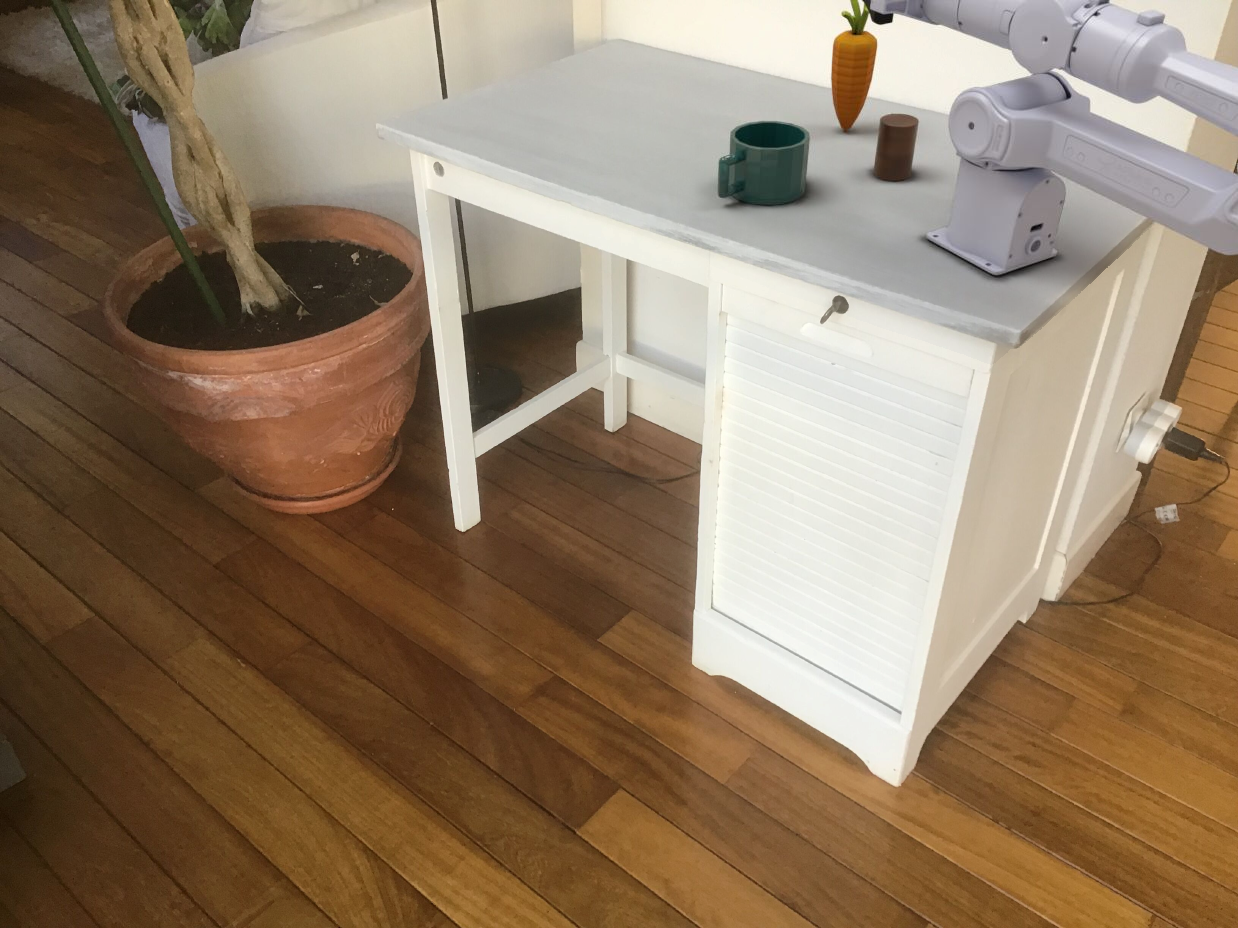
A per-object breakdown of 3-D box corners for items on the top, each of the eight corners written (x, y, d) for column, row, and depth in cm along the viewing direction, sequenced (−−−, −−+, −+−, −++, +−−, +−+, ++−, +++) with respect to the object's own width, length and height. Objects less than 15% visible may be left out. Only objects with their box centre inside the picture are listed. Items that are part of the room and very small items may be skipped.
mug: (766, 168, 115) (769, 115, 111) (820, 190, 110) (826, 135, 106) (692, 196, 110) (693, 141, 106) (746, 220, 104) (749, 163, 101)
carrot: (866, 139, 121) (883, 5, 112) (823, 137, 122) (836, 4, 112) (866, 124, 125) (883, -7, 115) (825, 123, 125) (838, -8, 116)
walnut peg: (918, 176, 112) (926, 122, 108) (889, 184, 111) (897, 129, 107) (893, 164, 115) (901, 111, 111) (865, 172, 113) (872, 118, 110)
